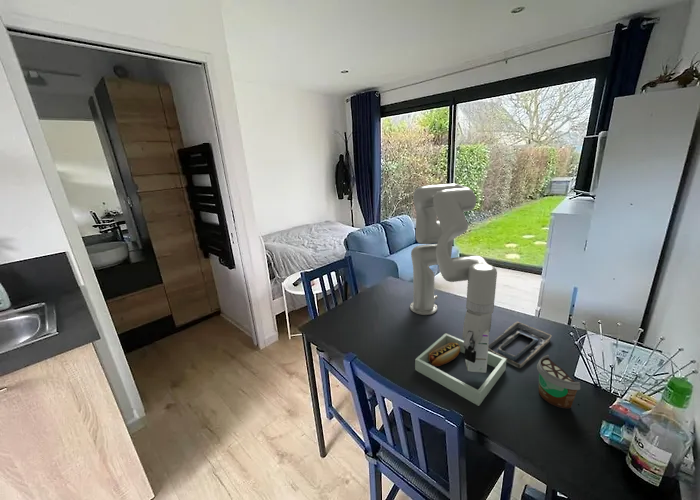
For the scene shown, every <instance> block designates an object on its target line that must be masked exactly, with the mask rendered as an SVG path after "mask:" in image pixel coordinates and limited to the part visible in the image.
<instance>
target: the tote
mask: <svg viewBox="0 0 700 500" xmlns="http://www.w3.org/2000/svg"><path fill="white" fill-rule="evenodd" d="M464 341H465V340H464V339H461V338H458V337H457V336H453V335H451V334H449V333H444V334H443V335H441V337H439V338H438V339H437V340H436V341H435V342H433V343H432V344H431V345H430V346H428V348H426V349H425V350H424V351H423V352H422V353H421V354H420V355H418V356H417V357H416V358H415V359H414V360H415V362H414V368H415V369H414V371H416V372H418V373H419V374H422V375H423V376H425V377H427V378H429V379H430V380H432V381H433V382H436V383H437V384H439V385H442V386H443V387H444V388H446V389H448V390H450V391H451V392H453V393H455V394H457V395H459V396H460V397H462V398H464V399H466V400H467V401H469V402H470V403H473V404H474V405H476V406H477V407H478V406H481V404H482V402H483V401H484V400H485V398H486V397H487V395H489V393H490V392H491V390H492V389H493V387H494V386H495V385H496V383H497V382H498V381H499V380H500V378H501V377H502V376H503V374H504V373H505V371H506V369H507V368H506V367H507V362H506V360H507V359H506V358H507V357H506V358H503V357H501V356H499V355H496V354H494V353H491V352H489V351H488V358H487V366H491V367H493V368H494V369H493V370H492V372H491V373H490V374H489V375H488V377H487V378H486V379H485V380H484V382H483V383H482V384H481V386H480V387H479V388H478V389H477V388H476V387H473V386H472V385H469V384H467V383H466V382H464V381H462V380H460V379H458V378H456V377H454V376H452V375H451V374H449V373H447V372H445V371H444V370H441V369H440V368H437V366H433V365H432V364H431V363H429V362H430V361H429V354H430V353H431V352H433V351H434V350H436V349H438V348H440V347H442V346H444V345H446V344H448V343H458V344H459V347H460V352H459V353H463V354H464V355H465V349H464V345H463V343H464Z"/></svg>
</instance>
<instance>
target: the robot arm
mask: <svg viewBox="0 0 700 500" xmlns="http://www.w3.org/2000/svg"><path fill="white" fill-rule="evenodd" d="M412 201H413V206H414V209H415V213H416V215H415V216H416V218H415V240H416V242H417V243H418V244H420V245H417V246H415V247H413V248H412V249H411V253H410V256H411V262H412V270H413V272H412V275H413V276H412V278H413V279H412V281H413V282H412V283H413V286H412V287H413V289H412V290H413V291H412V293H413V294H412V297H413V298H412V300H413V301H412V302H411V303H410V305H409V309H410V311H412V312H413V313H414V314H417V315H421V316H427V315H428V316H429V315H433V314H435V313H436V312H437V311H438V305H437V304H436V303H435V301H436V300H438V299H439V296H438V295H437V294H435V272H434V271H433V270H432V269H431V267H432V266H438V268H439V272H440V275H441V276H442V278H443V279H444V281H447V282H449V283H454V282H455V283H457V282H463V281H467V287H466V289H467V290H466V303H465V305H466V306H465V308H466V311H465V316H464V321H463V326H462V327H463V328H462V337H461V338H462V340H463V341H464V343H463V345H464V349H465V354H464V360H465V359H466V360H468V361H471V362H473V363H475V360H476V351H475V349H476V345H477V344H479V343H480V342H481V340H482V337H483V333H484V332H485V331H486V330H488V332H489V333H490V332H491V327H492V319H493V317H492V315H493V313H494V309H495V299H496V290H497V289H496V288H497V277H498V271H497V268H496V267H495V266H493V265H492V264H489V263H488V262H487V260H486V259H485V258H484V257H483V256H481V255H467V256H458V257H457V256H456V257H452V252H453V245H454V244H453V243H454V239H456V238H457V237H459V236H460V237H461V236H462V234H464V233H465V232H466V231H467V230H468V229H469V223H468V221H467V217H466V216H465V213H464V212H469V211H472V210H474V209H475V207H476V205H477V197H476V194H475V192H474V191H473V190H472V189H471V188H470V187H468V186H465V185H462V184H458V183H441V184H427V185H422V186H419V187H417V188H416V189H414V191H413V195H412ZM437 219H438V220H437ZM472 337H473V339H474V341H472V340H471V339H472ZM470 342H471V343H474V344H473V348H472V347H471V346H470Z"/></svg>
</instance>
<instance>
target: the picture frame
mask: <svg viewBox="0 0 700 500" xmlns="http://www.w3.org/2000/svg"><path fill="white" fill-rule="evenodd" d="M517 329H520V331H521V332H520V331H519V330H517ZM515 330H516V332H515V333H514V331H515ZM522 330H524V331H525V332H528V334H529V335H528V334H526V333H522ZM511 333H514V334H511ZM510 334H511V335H510ZM520 335H523V336H525V337H527V338H530V339H532V341H531V342H530V343H529V344H527V345H525V347H524V348H522V350H520V351H519V353H517V354H516V355H515V354H511V353H508V352H507V351H505V350H503V349H504V348H505V347H507V346H508V344H510V343H512V342H513V341H514V340H515V339H516V338H518V337H519V336H520ZM505 338H506V339H505ZM551 338H552V335H551V334H550V333H547V332H545V331H542V330H540V329H537V328H535V327H533V326H532V327H531V326H529V325H528V324H525V323H522V322H519V321H515V322H514V323H512V325H510V326H509V327H508V328H506V329H505V330H504V333H502V334H501V335H500V334H499V336H498V337H497V338H496V339H494V340H493V341H492V342H490V344H488V351H489V352H491V353H494V354H496V355H499V356H501V357H503V358H506V359H507V360H506V363H508V364H510V365H512V366H514V367H515V368H517V369H521V368H523V367H524V366H525V365H526V364H527V363H528V362H529V361H531V360H532V359H533V358H534V357H535V356H536V355H537V354H538V353H539V352H541V351H542V349H543V348H544V347H545V346H546V345H548V344H549V343H550V342H551ZM539 339H540V340H542V341H540V340H539ZM502 340H503V341H502ZM501 341H502V344H498V343H499V342H501ZM538 341H539V344H537V345H536V346H534V345H535V344H536V343H537V342H538ZM496 345H498V347H497V348H496V350H497V352H496V351H494V350H492V349H491V348H492V347H494V346H496ZM532 346H534V349H535V350H534V349H532V350H530V351H529V353H530V355H529V356H527V357H526V359H524V361H522V362H521V363H518V362H516V360H518V359H519V358H520V357H521V356H522V355H524V354H525V353H526V352H527V351H528V350H529V349H531V348H532Z"/></svg>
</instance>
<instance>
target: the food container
mask: <svg viewBox="0 0 700 500" xmlns="http://www.w3.org/2000/svg"><path fill="white" fill-rule="evenodd" d="M536 369H537V371H538V373H539V374H538V393H539V395H540V397H541V398H542V399H543V400H544V401H546V402H547V403H548V404H550V405H552V406H555V407H556V408H557V407H558V408H561V409H571V408H572V406H573V403H574V400H575V399H576V396H577V395H576V394H577V393H578V391H580V390H581V381H575V380H574V379H573V378H571V376H569V374H568V373H567V372H566V371H565V370H564V369H563V368H562V367H561V366H559V365H557V364H556V363H555V362H554V361H552V360H551V359H550V354H547V355H544V356H542V357H541V358H540V359H539V360H538V363H537V364H536Z"/></svg>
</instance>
